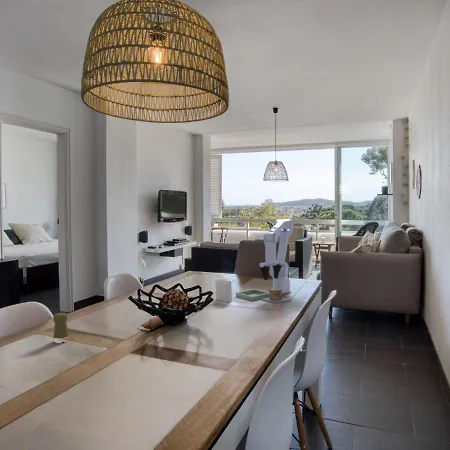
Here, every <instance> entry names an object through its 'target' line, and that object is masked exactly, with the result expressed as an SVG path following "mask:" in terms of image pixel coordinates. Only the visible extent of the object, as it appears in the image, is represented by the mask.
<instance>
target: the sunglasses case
mask: <svg viewBox="0 0 450 450" xmlns="http://www.w3.org/2000/svg"><path fill="white" fill-rule="evenodd" d="M162 323H163V322H162V320H161V319H160V318H159V317H157V316H154V317H152V318H150V319H149V320H148V321H146V322H144V323H142V324H141V325H140V326H142V327H144V328H147V329H153V328H156V327H157V328H159V327H160V325H161V326H163V325H162ZM158 326H159V327H158ZM157 328H156V329H157Z"/></svg>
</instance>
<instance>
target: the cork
mask: <svg viewBox="0 0 450 450" xmlns="http://www.w3.org/2000/svg"><path fill="white" fill-rule="evenodd" d="M52 317H53V318H52V320H53V323H54V328H53V329H54V330H53V339H54V338H64V337H67V336H69V337H70V335H69V329H68V324H67V323H68V322H67V321H68V314H67V313H66V312H58V313H55V314H54V315H53V316H52Z"/></svg>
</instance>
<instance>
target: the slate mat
mask: <svg viewBox="0 0 450 450" xmlns="http://www.w3.org/2000/svg"><path fill="white" fill-rule="evenodd" d="M261 301H262V302H263V301H264V302H268V303H271V304H274V305H280V304H284V303H285V304H286V303H289V302H292V298H287V297H283V296H282V299H280V300H273V299H270V297H268V298H263V299H261Z"/></svg>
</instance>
